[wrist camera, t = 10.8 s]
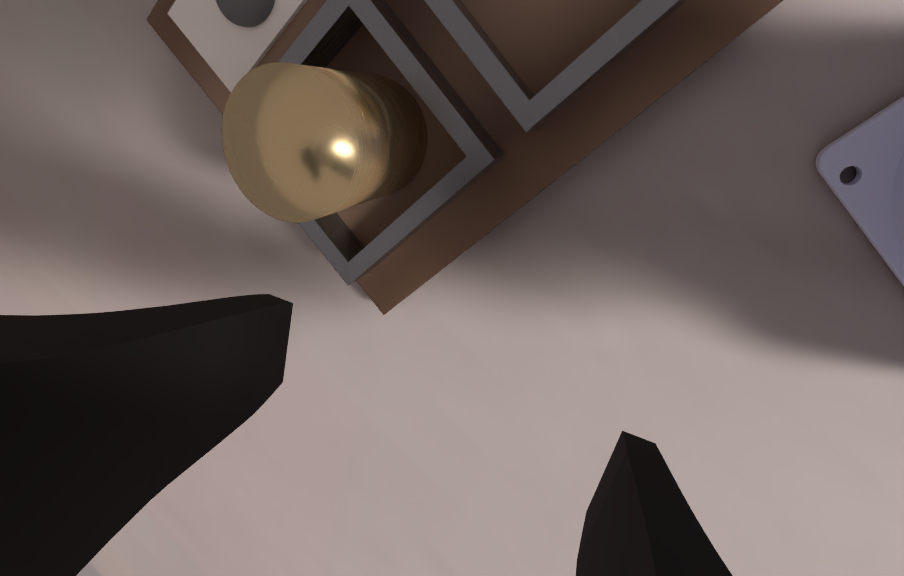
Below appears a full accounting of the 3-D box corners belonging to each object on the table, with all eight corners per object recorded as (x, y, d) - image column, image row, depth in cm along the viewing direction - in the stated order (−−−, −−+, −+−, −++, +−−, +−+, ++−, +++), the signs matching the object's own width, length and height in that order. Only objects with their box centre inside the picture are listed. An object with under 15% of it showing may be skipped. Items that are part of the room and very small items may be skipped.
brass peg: (448, 118, 17) (381, 120, 13) (392, 217, 19) (315, 251, 14) (351, 50, 17) (252, 29, 13) (304, 153, 19) (203, 167, 15)
